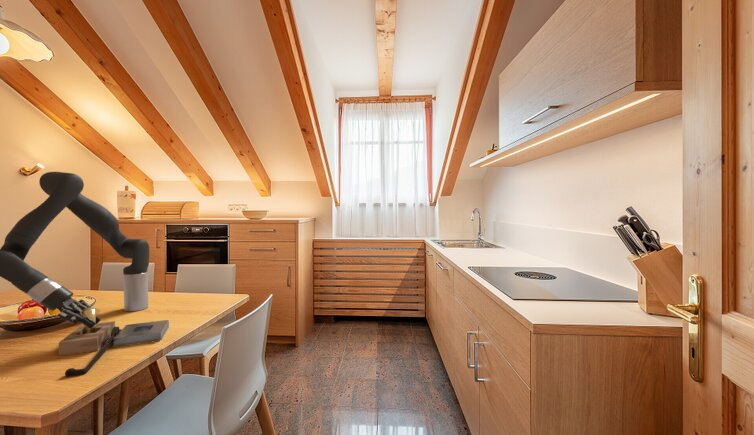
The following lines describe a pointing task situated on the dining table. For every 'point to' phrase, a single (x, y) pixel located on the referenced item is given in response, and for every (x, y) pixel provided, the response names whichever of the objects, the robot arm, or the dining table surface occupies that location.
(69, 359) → the dining table surface
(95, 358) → the wrench
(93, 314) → the gold round-topped peg
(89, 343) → the brown recessed block
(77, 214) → the robot arm
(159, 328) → the block
